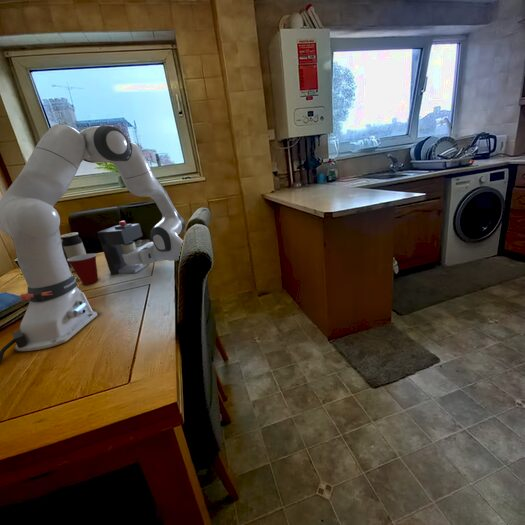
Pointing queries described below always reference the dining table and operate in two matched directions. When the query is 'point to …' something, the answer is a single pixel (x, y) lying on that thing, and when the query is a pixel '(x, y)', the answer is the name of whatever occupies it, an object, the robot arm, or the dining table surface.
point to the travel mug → (72, 245)
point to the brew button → (122, 223)
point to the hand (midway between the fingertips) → (128, 252)
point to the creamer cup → (128, 248)
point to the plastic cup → (85, 267)
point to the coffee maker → (119, 247)
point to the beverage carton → (141, 243)
